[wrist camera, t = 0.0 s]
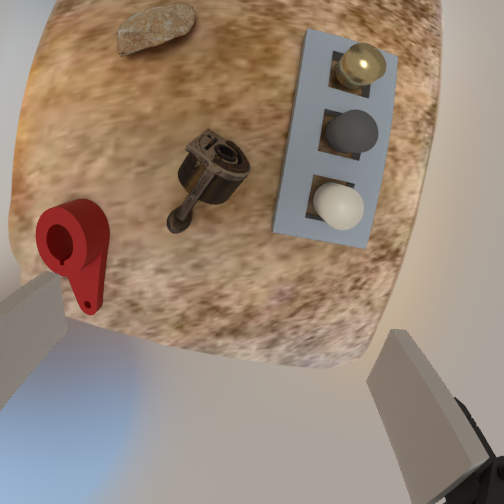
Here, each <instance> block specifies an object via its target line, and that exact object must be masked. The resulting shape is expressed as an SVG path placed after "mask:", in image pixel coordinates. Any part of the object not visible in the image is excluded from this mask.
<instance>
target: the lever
mask: <svg viewBox="0 0 504 504" xmlns="http://www.w3.org/2000/svg"><path fill="white" fill-rule="evenodd" d="M109 238H110V229H109V224H108V221H107V218H106V216H105V214H104V212H103V211H102V210H101V208H100V207H99V206H98V205H97V204H95V203H94V202H92V201H90V200H87V199H77V200H74V201H71V202H68V203H64V204H61V205H58V206H55V207H52V208H50V209H48V210H46V211H45V212H44V213H43V214H42V215H41V216H40V218H39V220H38V223H37V227H36V243H37V248H38V251H39V253H40V256H41V258H42V259H43V261H44V263H45V264H46V265H47V266H48V267H49V268H50V269H51V270H52V271H53V272H55V273H57V274H59V275H61V276H68V279H69V282H70V284H71V287H72V289H73V292H74V294H75V297H76V299H77V302H78V304H79V306H80V308H81V310H82V311H83V312H84V313H86V314H88V315H94V314H95V313H96V312H97V311H98V310H99V309H100V307H101V306H102V303H103V290H104V279H105V269H106V261H107V253H108V245H109Z"/></svg>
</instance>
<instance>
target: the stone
mask: <svg viewBox="0 0 504 504" xmlns="http://www.w3.org/2000/svg"><path fill="white" fill-rule="evenodd" d="M195 18H196V15H195V12H194V11H193V7H192V6H190V5H187V4H183V3H180V4H179V3H175V4H171V5H166V6H159V7H155V8H151V9H147V10H144V11H142V12H139V13H137V14H135V15H133V16H131V17H130V18H128V19H127V20H126V21H125V22H123V23H122V24H121V25H120V26H119V28H118V30H117V52H118V54H119V55H121V57H122V56H123V55H128V54H133V53H135V52H139V51H142V50H145V49H148V48H151V47H153V48H154V47H157V46H159V45H162V44H164V43H165V42H167V41H169V40H171V39H174V38H176V37H180V36H184V35H186V34H187V33H188V32H190V30H191V28H192V26H193V25H194V22H195Z"/></svg>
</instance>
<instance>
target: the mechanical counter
mask: <svg viewBox="0 0 504 504" xmlns="http://www.w3.org/2000/svg"><path fill="white" fill-rule="evenodd" d="M185 150H186V151H188V152H189V154H188V155H187V157H186V158H185V160H184V162H183V163H182V165H181V167H180V168H179V171H178V179H179V181H180V183H181V185H182V186H183V187H184V188H185V190H186V191H187V192H188V193H189V195H188V197H187V198H186V200H185V201H184V203H183V204H182V206H180V207H178V208H176V209H175V210H173V211H172V212H171V213H170V215H169V216H168V218H167V227H168V229H169V231H170V232H172V233H173V234H177V233H180V232H183V231H184V230H185V229H187V228H188V227H189V225H190V223H191V220H192V208H193V207H194V205H195V204H196V202H197V201H198V200H200V201H202V202H205V203H208V204H213V205H218V204H222V203H224V202H225V201H227V200H228V198H229V197H230V196H231V195H232V193H233V192H234V191H235V190H236V189H237V187H238V186H239V185H240V184H241V183H242V181H243V180H244V179H245V178H246V177H247V176H248V174H249V173H250V164H249V162H248V160H247V158H246V157H245V155H244V154H243V152H242V151H241V150H240V148H239V147H237V146H236V145H235V144H234V143H233V142H231V141H226V140H225V139H223V138H222V137H220V136H219V135H218V134H216V133H215V132H213V131H212V130H210V129H207V130H206V131H204V132H203V133H202V134H201V135H199V136H198V137H197V138H195V139H194V140H193V141H192V142H191V143H189V144H188V145H187V147H186V148H185Z"/></svg>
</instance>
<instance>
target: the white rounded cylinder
mask: <svg viewBox="0 0 504 504" xmlns="http://www.w3.org/2000/svg"><path fill="white" fill-rule="evenodd" d="M313 205H314V209H315V211H316V212H317V214H318V215H319V216H320V217H322V218H323V219H324V220H325V221H326V222H327V223H328V224H329V225H330V226H331V227H333V228H335V229H338V230H348V229H351V228H353V227H354V226H356V225H357V224H358V223H359V222H360V220H361V218H362V216H363V213H364V203H363V199H362V197H361V196H360V194H359V193H358V192H357V191H356V190H354V189H352V188H350V187H347V186H344V185H341V184H338V183H334V182H329V183H325V184H323V185H321V186H320V187H319V188H318V189H317V190H316V192H315V194H314V197H313Z"/></svg>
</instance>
